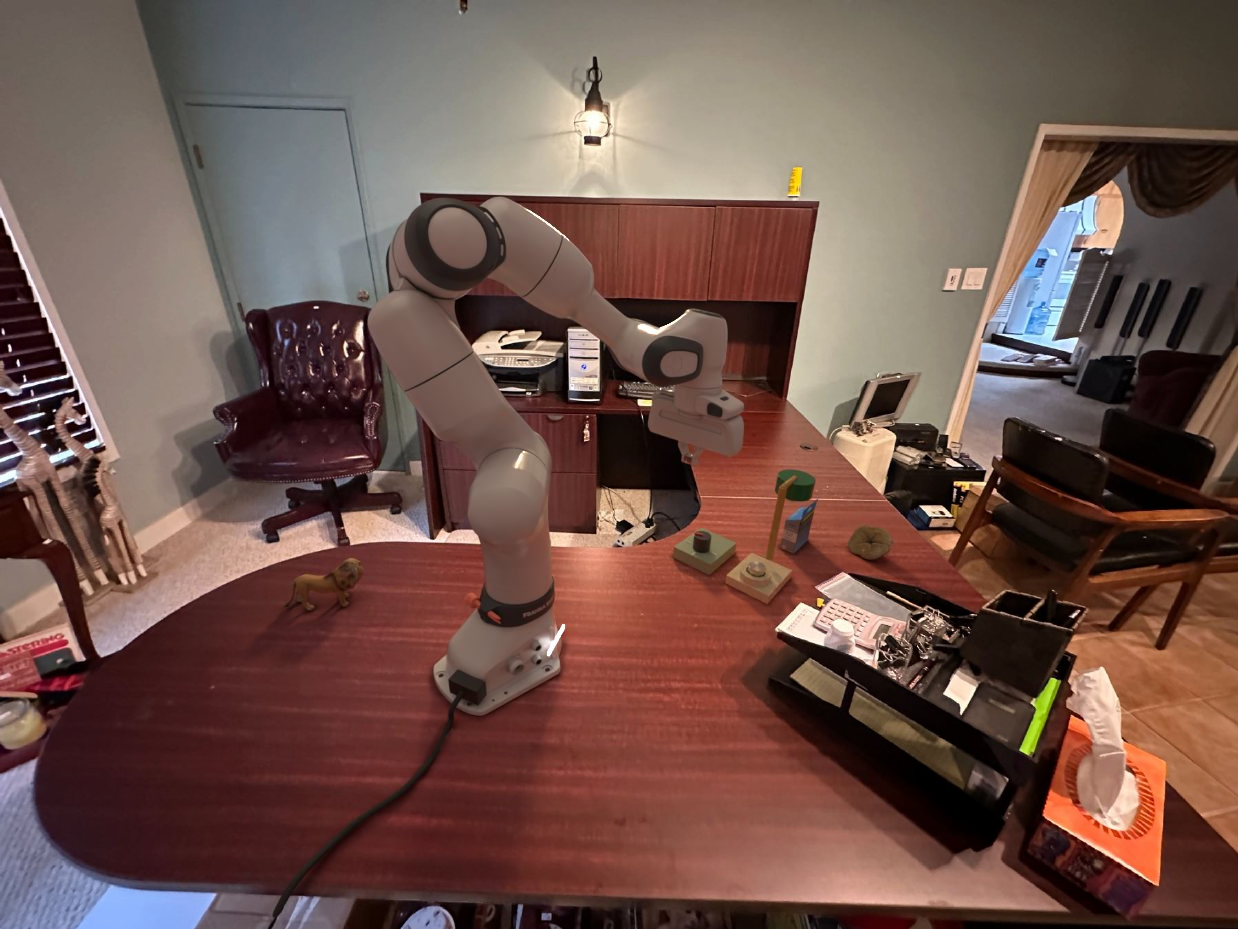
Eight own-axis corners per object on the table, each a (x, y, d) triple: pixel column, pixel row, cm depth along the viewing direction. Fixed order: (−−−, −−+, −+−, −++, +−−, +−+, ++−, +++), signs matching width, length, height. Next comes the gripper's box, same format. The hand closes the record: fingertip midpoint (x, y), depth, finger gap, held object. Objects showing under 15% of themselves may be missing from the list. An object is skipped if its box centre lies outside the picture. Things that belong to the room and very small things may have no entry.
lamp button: (759, 579, 104) (760, 573, 104) (744, 572, 107) (745, 566, 106) (766, 572, 107) (768, 565, 106) (751, 565, 109) (753, 558, 108)
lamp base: (767, 604, 103) (770, 588, 101) (724, 583, 109) (727, 568, 107) (790, 578, 111) (793, 563, 110) (750, 560, 117) (752, 545, 115)
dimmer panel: (708, 575, 111) (710, 564, 110) (672, 557, 117) (673, 546, 115) (734, 553, 119) (736, 542, 118) (699, 537, 125) (701, 526, 124)
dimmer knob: (710, 545, 117) (712, 531, 115) (708, 554, 113) (710, 540, 112) (694, 541, 118) (695, 528, 116) (691, 550, 114) (692, 537, 113)
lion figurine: (369, 587, 102) (362, 550, 99) (367, 603, 98) (359, 566, 94) (287, 601, 98) (276, 563, 94) (281, 619, 93) (269, 580, 89)
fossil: (857, 520, 125) (898, 530, 117) (863, 528, 127) (903, 539, 119) (842, 550, 123) (882, 562, 115) (848, 558, 125) (888, 571, 117)
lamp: (784, 567, 108) (801, 492, 101) (751, 552, 113) (764, 479, 105) (804, 545, 117) (821, 474, 109) (773, 532, 121) (787, 463, 113)
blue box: (793, 534, 128) (803, 492, 123) (808, 540, 126) (818, 498, 121) (778, 548, 122) (788, 504, 117) (794, 555, 120) (804, 510, 115)
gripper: (643, 389, 98) (639, 452, 104) (736, 413, 87) (725, 483, 92) (662, 383, 103) (657, 444, 109) (752, 406, 91) (741, 473, 97)
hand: (689, 463), depth 100 cm, fingers closed
